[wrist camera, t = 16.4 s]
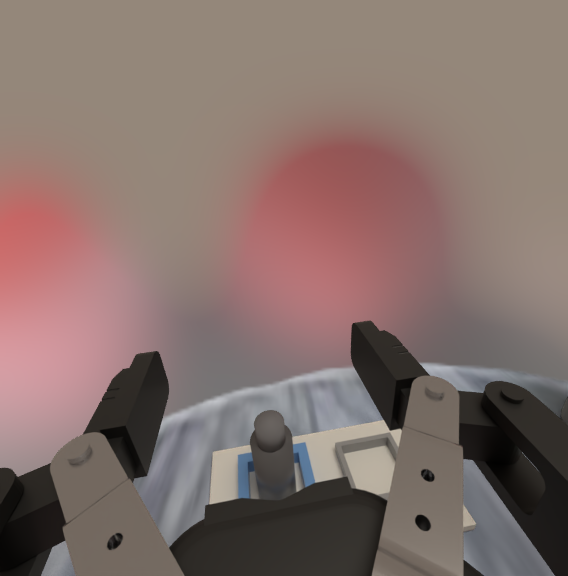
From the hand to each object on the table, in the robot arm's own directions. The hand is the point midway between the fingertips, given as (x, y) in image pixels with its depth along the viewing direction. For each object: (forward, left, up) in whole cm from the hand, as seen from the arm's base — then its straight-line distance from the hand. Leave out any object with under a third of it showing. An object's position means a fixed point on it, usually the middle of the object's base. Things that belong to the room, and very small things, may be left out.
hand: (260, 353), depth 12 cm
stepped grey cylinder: (-9, -7, -29) cm, 31 cm away
